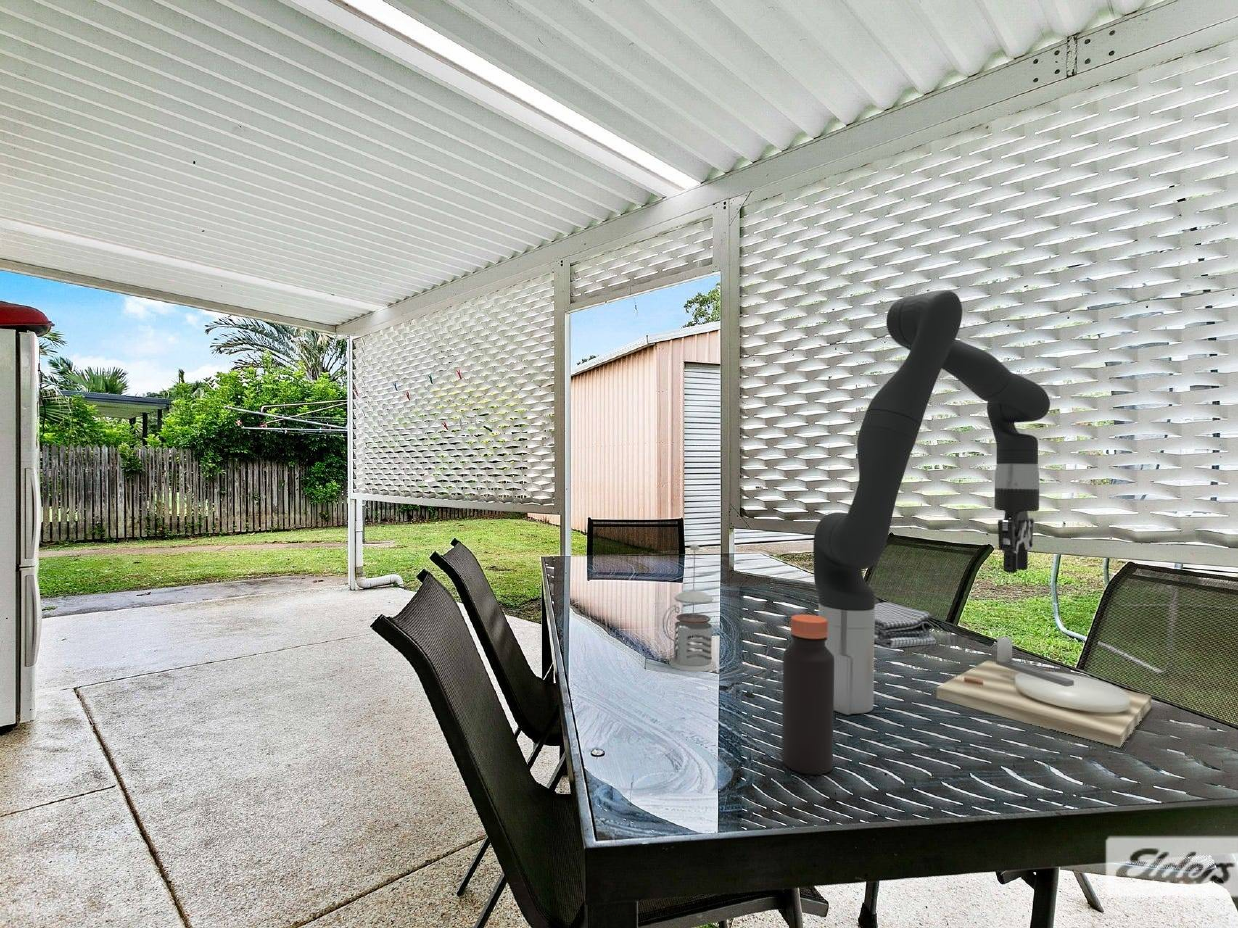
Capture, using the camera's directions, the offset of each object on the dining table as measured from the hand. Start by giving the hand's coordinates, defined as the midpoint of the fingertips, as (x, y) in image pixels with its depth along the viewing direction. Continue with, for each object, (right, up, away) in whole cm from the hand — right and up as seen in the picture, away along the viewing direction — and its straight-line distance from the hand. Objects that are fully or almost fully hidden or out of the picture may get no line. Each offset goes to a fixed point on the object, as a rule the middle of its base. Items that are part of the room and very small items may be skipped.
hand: (1015, 570), depth 123 cm
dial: (-2, -19, -14) cm, 24 cm away
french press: (-65, -21, +5) cm, 68 cm away
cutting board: (-4, -21, -13) cm, 25 cm away
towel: (-13, -22, +30) cm, 40 cm away
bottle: (-53, -20, -38) cm, 69 cm away
